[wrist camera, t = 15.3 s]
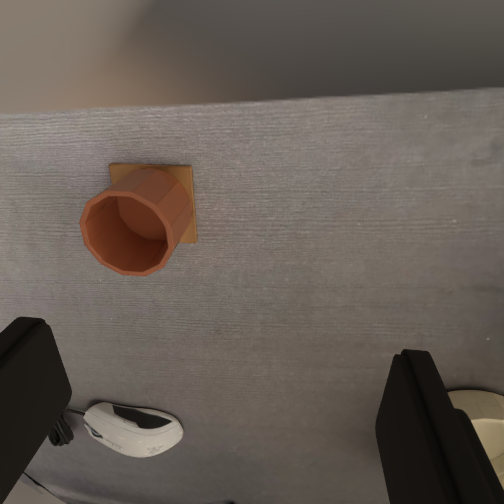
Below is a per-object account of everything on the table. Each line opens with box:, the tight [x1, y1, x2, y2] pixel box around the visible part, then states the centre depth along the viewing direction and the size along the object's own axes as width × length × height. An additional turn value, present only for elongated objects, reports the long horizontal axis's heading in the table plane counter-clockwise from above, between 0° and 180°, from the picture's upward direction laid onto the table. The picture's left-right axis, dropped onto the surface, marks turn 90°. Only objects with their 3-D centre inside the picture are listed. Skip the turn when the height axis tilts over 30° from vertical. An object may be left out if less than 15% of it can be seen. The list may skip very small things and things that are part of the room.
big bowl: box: [447, 390, 504, 489], centre depth 40 cm, size 14×14×4 cm
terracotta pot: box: [79, 168, 192, 276], centre depth 29 cm, size 7×7×6 cm
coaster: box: [109, 163, 197, 243], centre depth 31 cm, size 7×7×1 cm
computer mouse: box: [48, 402, 183, 457], centre depth 45 cm, size 10×18×4 cm, turn 82°
